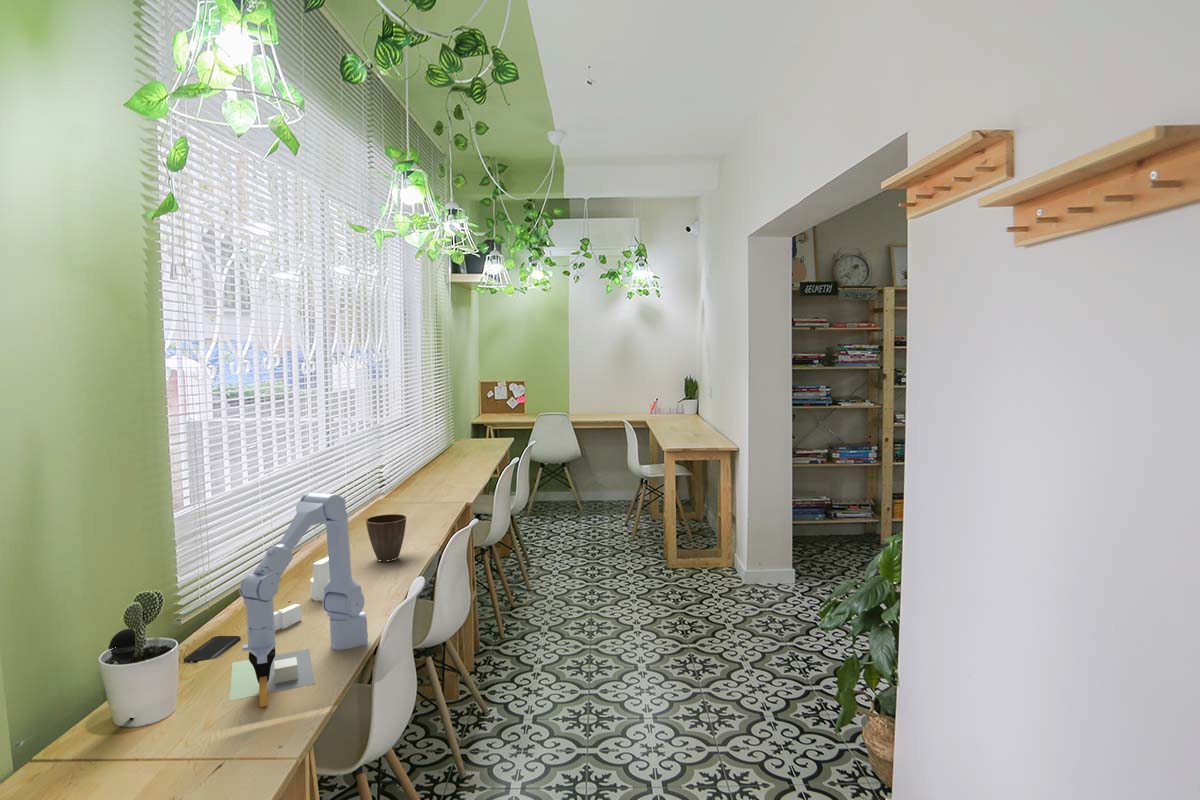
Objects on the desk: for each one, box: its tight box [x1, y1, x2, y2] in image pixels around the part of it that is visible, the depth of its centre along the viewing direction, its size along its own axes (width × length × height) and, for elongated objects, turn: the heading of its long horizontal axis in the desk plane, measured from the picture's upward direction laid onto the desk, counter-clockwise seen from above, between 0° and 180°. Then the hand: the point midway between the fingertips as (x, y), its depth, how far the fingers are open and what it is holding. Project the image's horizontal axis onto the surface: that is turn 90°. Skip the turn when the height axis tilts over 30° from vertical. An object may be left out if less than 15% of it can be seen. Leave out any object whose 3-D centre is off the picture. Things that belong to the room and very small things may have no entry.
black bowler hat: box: [107, 628, 147, 664], centre depth 153 cm, size 7×7×20 cm
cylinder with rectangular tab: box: [310, 555, 330, 602], centre depth 230 cm, size 9×9×12 cm
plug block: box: [274, 657, 298, 683], centre depth 170 cm, size 5×5×4 cm
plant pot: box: [365, 513, 407, 561], centre depth 270 cm, size 15×15×16 cm
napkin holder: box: [274, 603, 302, 632], centre depth 204 cm, size 15×11×6 cm
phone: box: [183, 635, 242, 663], centre depth 189 cm, size 8×1×15 cm
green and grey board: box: [229, 648, 316, 702], centre depth 173 cm, size 18×22×1 cm
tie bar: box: [258, 676, 269, 708], centre depth 159 cm, size 2×9×3 cm, turn 26°
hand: (263, 681), depth 165 cm, fingers closed
